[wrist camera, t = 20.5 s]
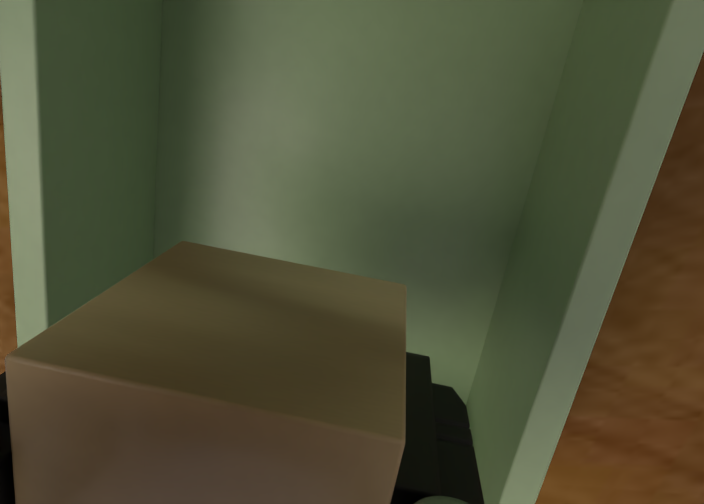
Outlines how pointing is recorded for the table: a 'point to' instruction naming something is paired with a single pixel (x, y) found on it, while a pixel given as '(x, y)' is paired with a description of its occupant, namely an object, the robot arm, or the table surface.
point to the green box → (359, 167)
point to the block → (215, 388)
